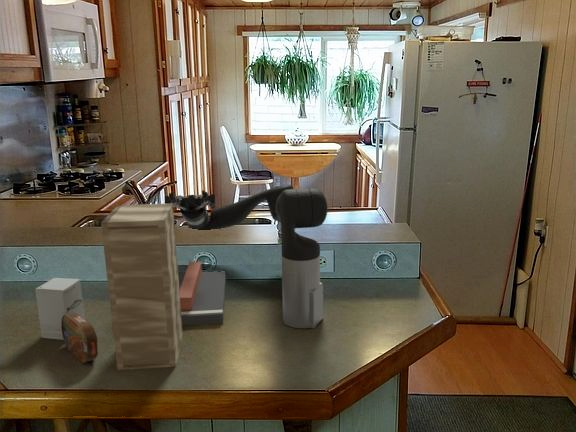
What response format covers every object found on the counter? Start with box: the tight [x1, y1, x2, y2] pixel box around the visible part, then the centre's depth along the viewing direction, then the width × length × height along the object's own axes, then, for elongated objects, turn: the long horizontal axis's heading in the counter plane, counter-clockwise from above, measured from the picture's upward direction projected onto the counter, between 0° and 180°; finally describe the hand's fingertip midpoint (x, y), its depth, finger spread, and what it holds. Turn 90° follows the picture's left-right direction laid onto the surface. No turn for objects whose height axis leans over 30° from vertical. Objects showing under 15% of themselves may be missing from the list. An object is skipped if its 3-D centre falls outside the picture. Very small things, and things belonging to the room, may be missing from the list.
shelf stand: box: [100, 203, 184, 371], centre depth 112 cm, size 14×12×32 cm
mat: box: [178, 271, 227, 326], centre depth 142 cm, size 30×18×3 cm, turn 5°
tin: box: [61, 313, 99, 364], centre depth 115 cm, size 15×3×8 cm, turn 42°
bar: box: [180, 261, 203, 311], centre depth 143 cm, size 26×4×4 cm, turn 4°
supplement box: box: [34, 277, 86, 341], centre depth 124 cm, size 7×7×13 cm
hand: (187, 194), depth 145 cm, fingers open, 8 cm apart
